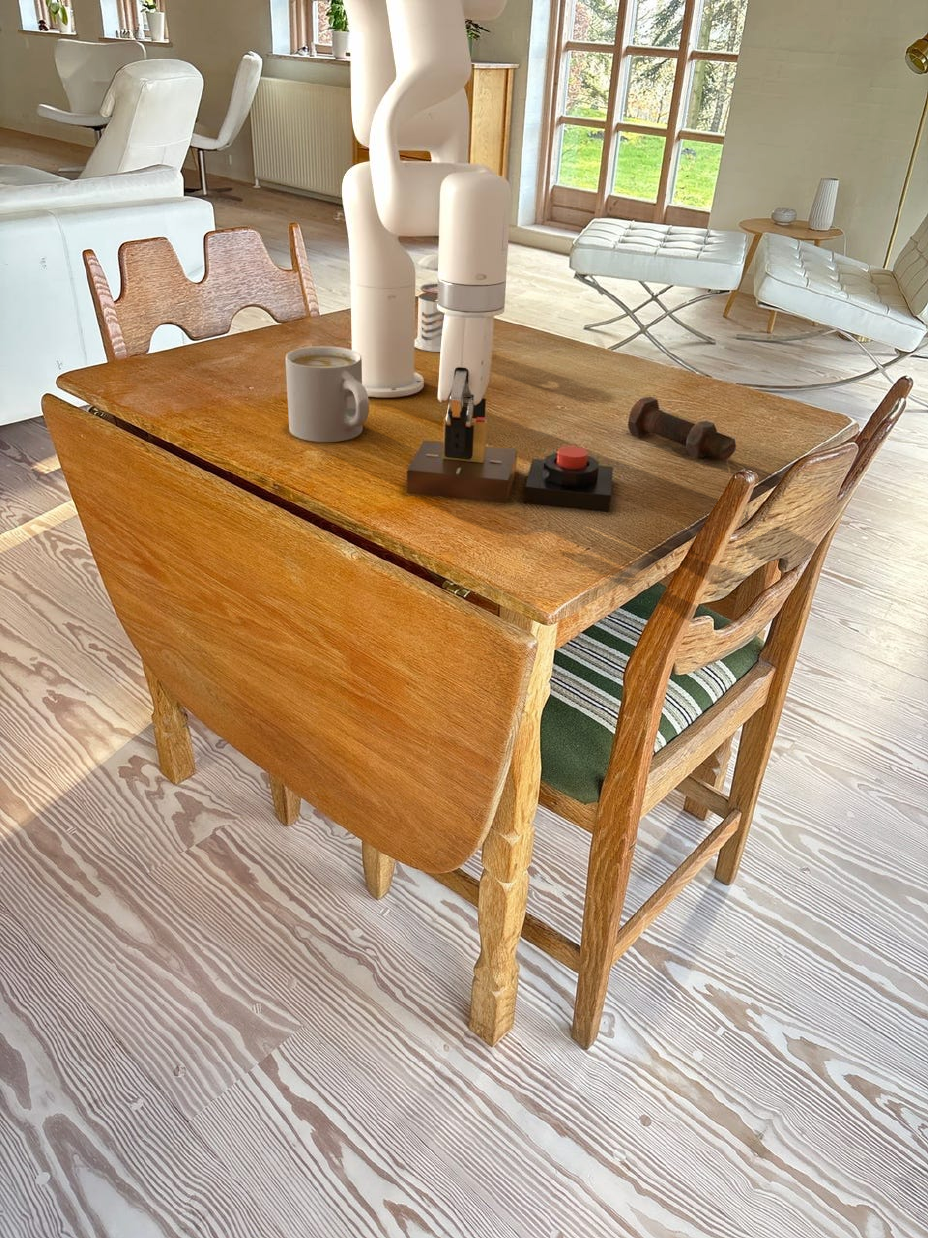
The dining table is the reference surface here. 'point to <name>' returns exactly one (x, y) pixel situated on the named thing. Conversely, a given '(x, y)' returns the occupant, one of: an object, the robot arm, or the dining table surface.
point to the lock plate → (462, 474)
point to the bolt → (679, 430)
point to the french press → (429, 311)
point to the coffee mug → (325, 394)
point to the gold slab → (474, 440)
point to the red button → (572, 457)
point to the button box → (569, 485)
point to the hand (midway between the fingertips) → (465, 442)
